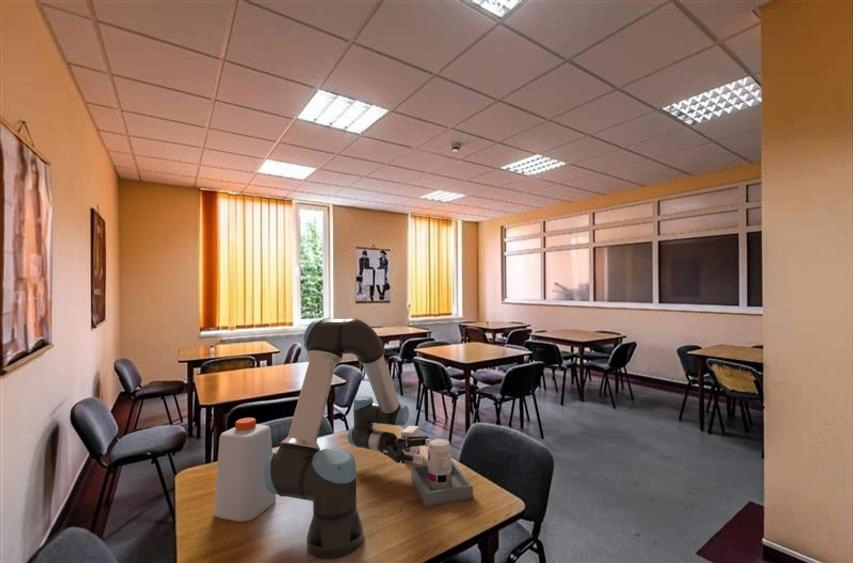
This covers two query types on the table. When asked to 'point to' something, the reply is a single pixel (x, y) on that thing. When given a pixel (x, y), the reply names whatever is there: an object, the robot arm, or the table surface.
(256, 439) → the plastic bottle
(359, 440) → the robot arm
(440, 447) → the supplement can
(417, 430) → the ink box
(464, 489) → the tote
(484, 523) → the table surface
